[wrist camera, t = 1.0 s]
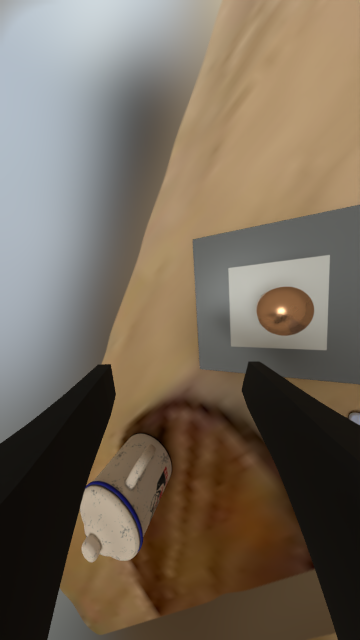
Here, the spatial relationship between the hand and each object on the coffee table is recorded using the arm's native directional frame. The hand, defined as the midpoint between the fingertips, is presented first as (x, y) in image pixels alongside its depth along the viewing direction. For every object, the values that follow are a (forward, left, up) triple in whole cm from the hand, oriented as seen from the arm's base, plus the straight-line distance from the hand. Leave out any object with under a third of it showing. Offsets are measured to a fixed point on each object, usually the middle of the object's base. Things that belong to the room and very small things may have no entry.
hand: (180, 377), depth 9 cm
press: (-5, -3, -13) cm, 14 cm away
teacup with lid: (+12, +20, -13) cm, 27 cm away
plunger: (-5, -3, -9) cm, 11 cm away
